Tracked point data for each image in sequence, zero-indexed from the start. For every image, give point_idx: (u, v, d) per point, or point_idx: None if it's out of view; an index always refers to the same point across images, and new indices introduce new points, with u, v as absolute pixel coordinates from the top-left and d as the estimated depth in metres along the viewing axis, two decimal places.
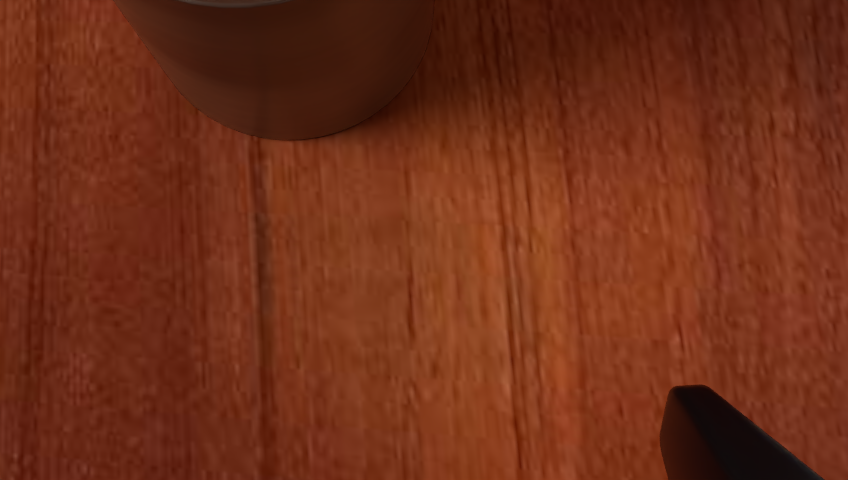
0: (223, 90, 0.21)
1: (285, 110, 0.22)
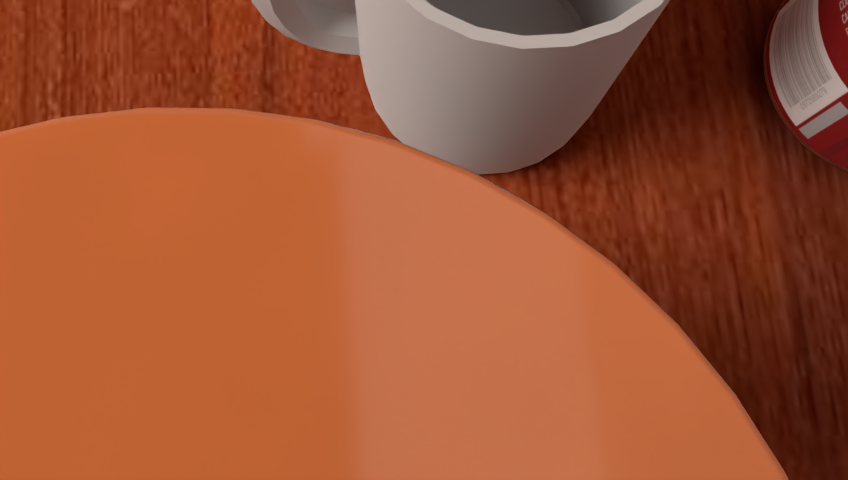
0: None
1: None
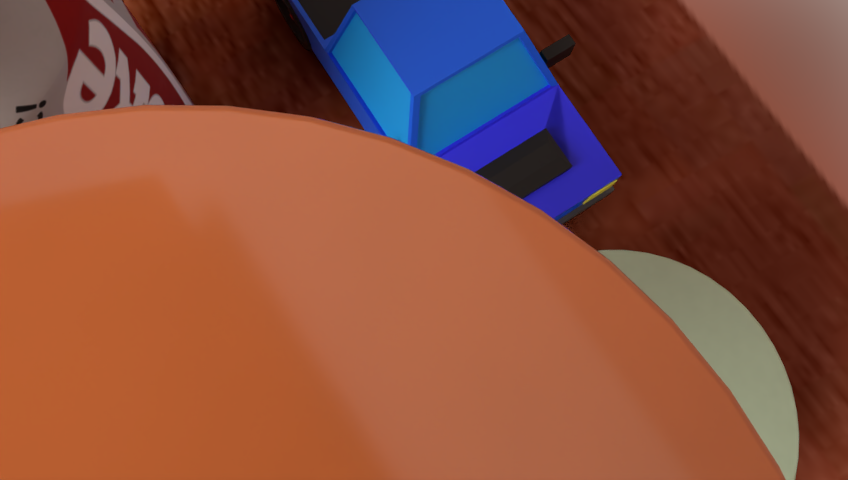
0: None
1: None
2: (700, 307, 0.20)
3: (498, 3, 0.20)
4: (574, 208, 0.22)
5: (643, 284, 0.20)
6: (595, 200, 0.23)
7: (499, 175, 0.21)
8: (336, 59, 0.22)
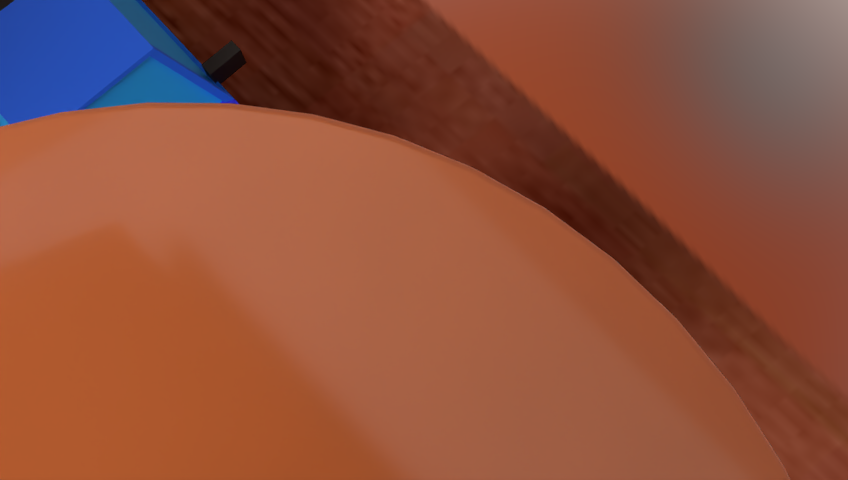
0: None
1: None
2: None
3: (120, 21, 0.17)
4: None
5: None
6: None
7: None
8: None
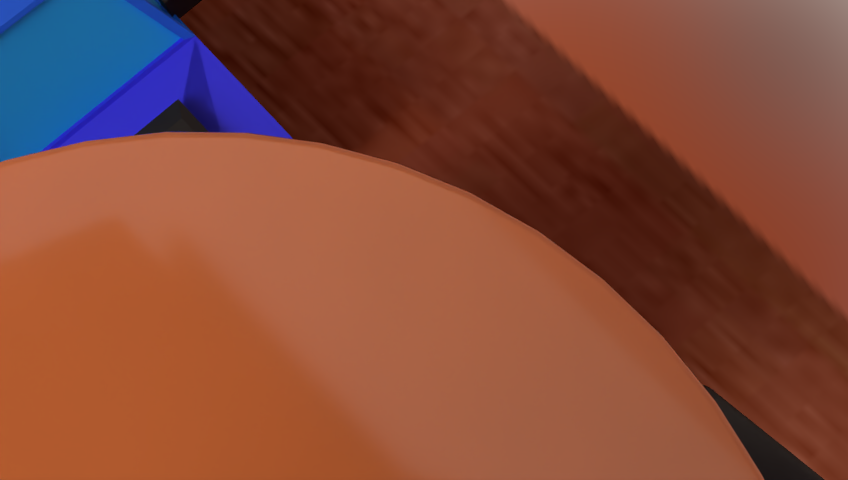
0: None
1: None
2: None
3: None
4: None
5: None
6: None
7: None
8: None
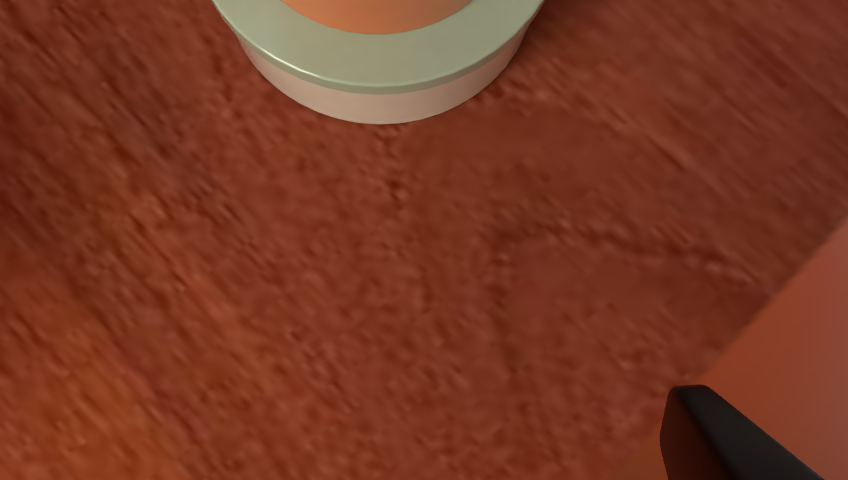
0: None
1: None
2: None
3: None
4: None
5: None
6: None
7: None
8: None
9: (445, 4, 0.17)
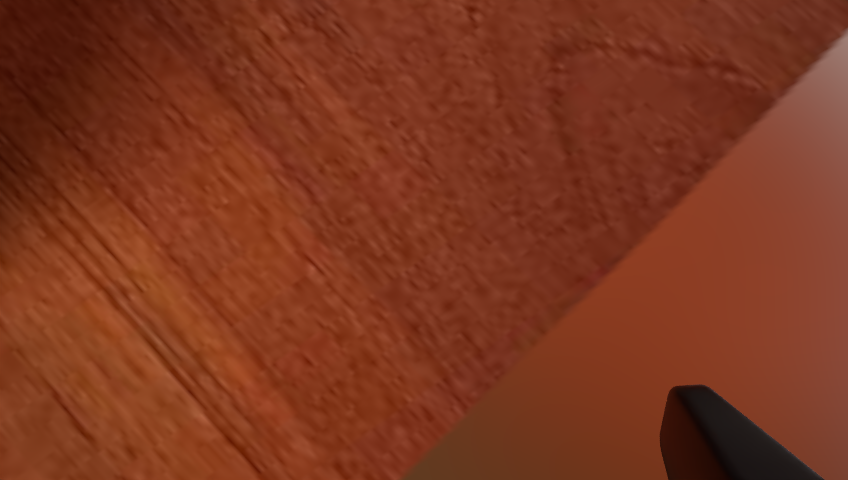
0: None
1: None
2: None
3: None
4: None
5: None
6: None
7: None
8: None
9: None
